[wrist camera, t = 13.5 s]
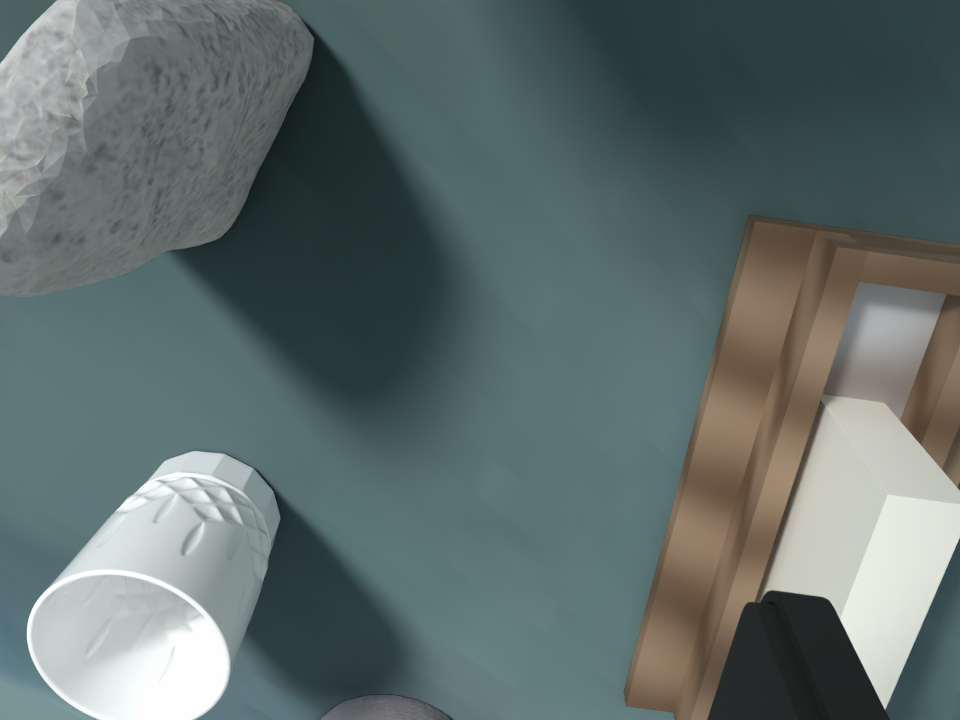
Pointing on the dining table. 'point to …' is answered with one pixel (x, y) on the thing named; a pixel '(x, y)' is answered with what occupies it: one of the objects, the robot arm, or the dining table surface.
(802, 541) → the white rectangular block
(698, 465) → the track frame
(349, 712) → the pillar candle
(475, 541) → the dining table surface
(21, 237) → the decorative stone
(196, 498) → the white cup
